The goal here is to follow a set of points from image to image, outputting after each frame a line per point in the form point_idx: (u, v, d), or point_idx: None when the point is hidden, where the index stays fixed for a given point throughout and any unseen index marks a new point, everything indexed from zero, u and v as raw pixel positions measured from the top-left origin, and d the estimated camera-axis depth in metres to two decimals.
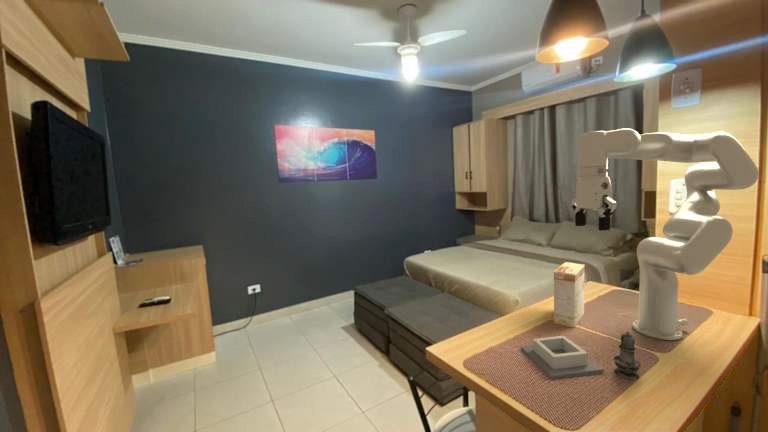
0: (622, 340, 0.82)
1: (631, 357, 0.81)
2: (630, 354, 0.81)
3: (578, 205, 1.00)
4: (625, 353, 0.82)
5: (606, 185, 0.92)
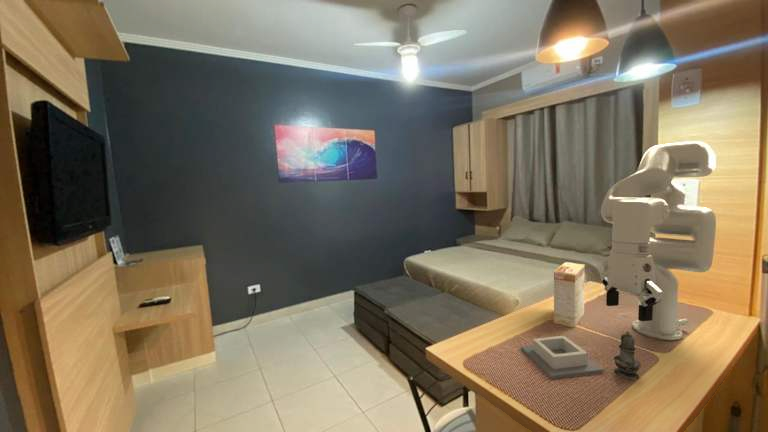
0: (622, 340, 0.82)
1: (631, 357, 0.81)
2: (630, 354, 0.81)
3: (611, 283, 0.83)
4: (625, 353, 0.82)
5: (648, 266, 0.76)
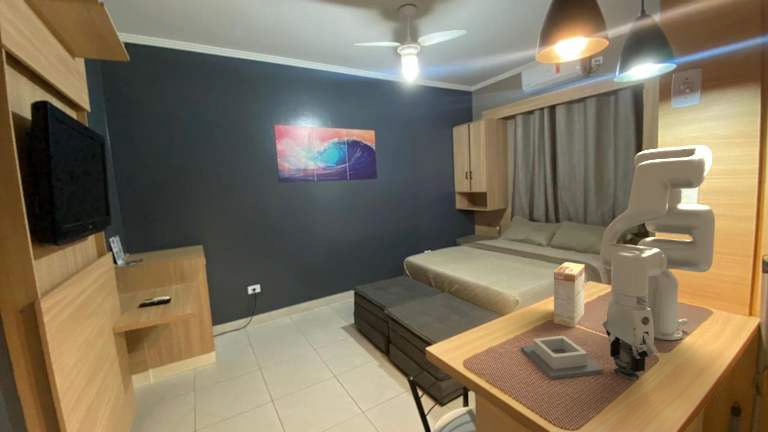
0: (622, 340, 0.82)
1: (631, 357, 0.81)
2: (630, 354, 0.81)
3: (610, 330, 0.85)
4: (625, 352, 0.82)
5: (646, 319, 0.77)
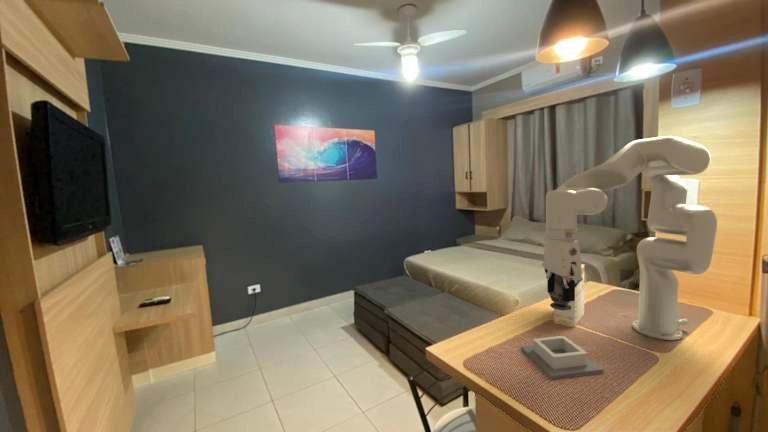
0: (555, 274, 0.88)
1: None
2: (562, 287, 0.87)
3: (546, 267, 0.91)
4: (558, 285, 0.87)
5: (575, 251, 0.83)
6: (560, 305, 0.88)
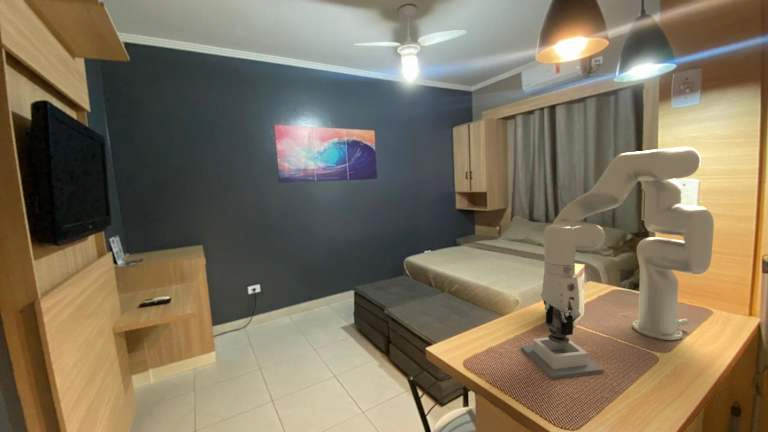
0: (554, 307, 0.89)
1: None
2: (560, 320, 0.88)
3: (545, 299, 0.92)
4: (556, 318, 0.89)
5: (573, 286, 0.84)
6: (558, 338, 0.89)
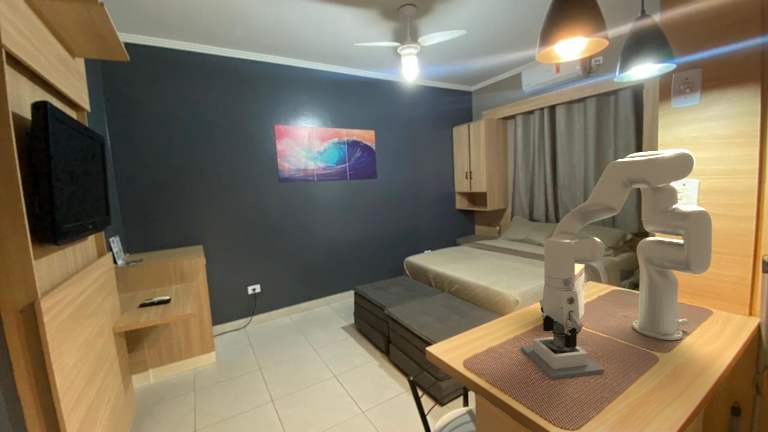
0: (554, 326, 0.90)
1: (562, 341, 0.89)
2: (560, 338, 0.89)
3: (545, 311, 0.92)
4: (557, 337, 0.89)
5: (572, 299, 0.85)
6: None
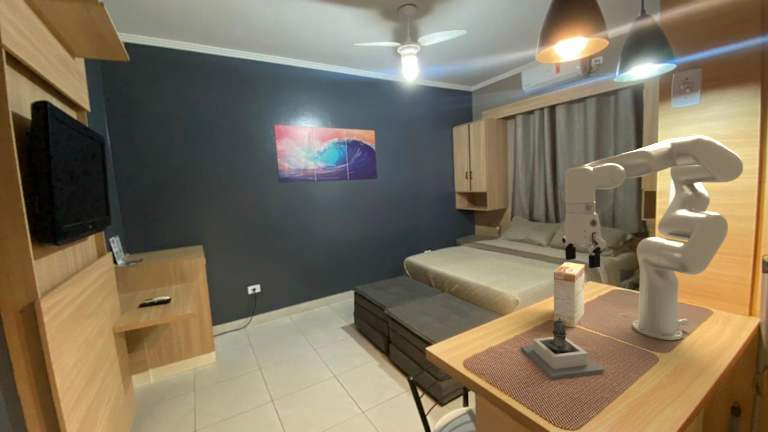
0: (554, 326, 0.90)
1: (562, 341, 0.89)
2: (561, 339, 0.89)
3: (567, 240, 0.98)
4: (557, 337, 0.89)
5: (594, 222, 0.90)
6: None
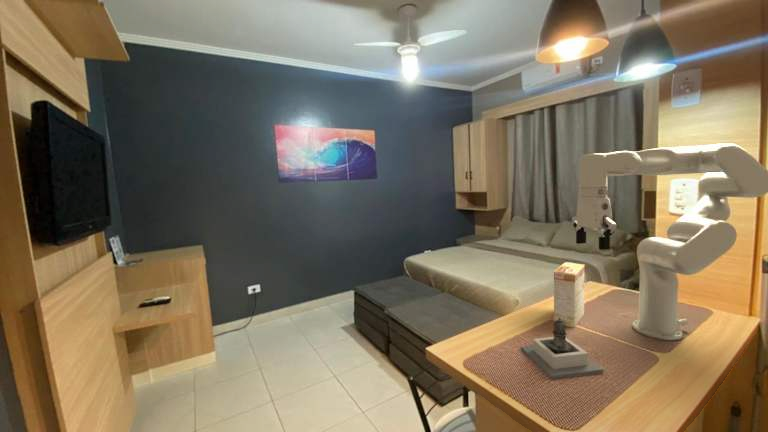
0: (554, 326, 0.90)
1: (562, 341, 0.89)
2: (561, 339, 0.89)
3: (579, 224, 1.02)
4: (557, 337, 0.89)
5: (606, 206, 0.95)
6: None
